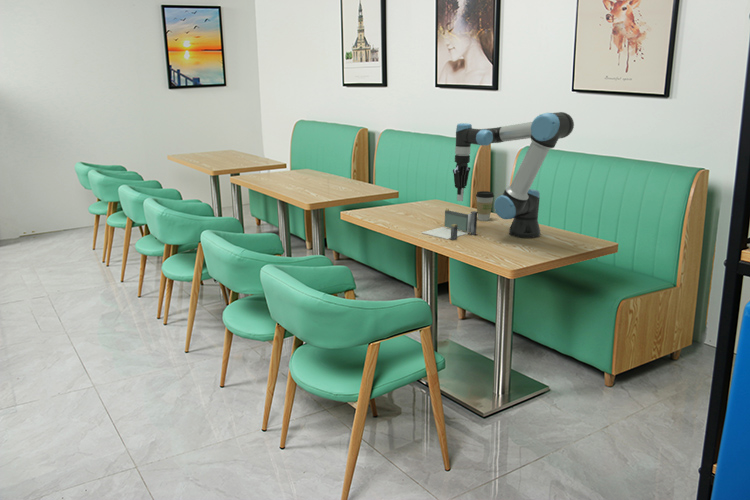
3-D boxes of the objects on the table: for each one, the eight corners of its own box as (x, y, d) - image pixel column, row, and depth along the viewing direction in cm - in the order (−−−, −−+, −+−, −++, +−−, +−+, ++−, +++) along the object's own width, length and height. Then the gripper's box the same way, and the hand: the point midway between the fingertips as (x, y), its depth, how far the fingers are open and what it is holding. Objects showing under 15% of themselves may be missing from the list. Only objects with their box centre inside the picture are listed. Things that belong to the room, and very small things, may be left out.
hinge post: (476, 234, 310) (478, 211, 306) (473, 235, 308) (474, 212, 305) (472, 233, 311) (473, 211, 308) (469, 234, 310) (470, 211, 307)
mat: (469, 233, 311) (469, 232, 311) (447, 239, 300) (447, 238, 300) (442, 227, 323) (442, 226, 323) (421, 233, 312) (421, 232, 312)
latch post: (456, 239, 301) (457, 224, 299) (453, 240, 299) (454, 225, 297) (454, 238, 302) (454, 223, 300) (450, 239, 300) (451, 224, 298)
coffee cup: (492, 222, 336) (494, 194, 332) (474, 221, 338) (475, 193, 334) (492, 218, 346) (494, 191, 341) (474, 217, 347) (476, 190, 343)
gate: (471, 231, 311) (472, 212, 309) (469, 232, 310) (470, 213, 307) (446, 226, 323) (447, 207, 320) (444, 226, 321) (444, 208, 319)
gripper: (463, 152, 320) (460, 197, 326) (448, 155, 310) (446, 201, 317) (475, 154, 315) (473, 199, 322) (461, 156, 306) (459, 203, 312)
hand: (459, 200), depth 319 cm, fingers closed
